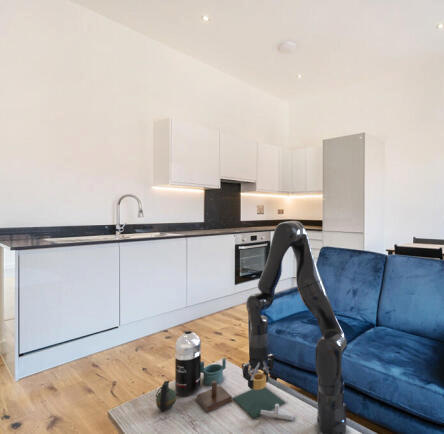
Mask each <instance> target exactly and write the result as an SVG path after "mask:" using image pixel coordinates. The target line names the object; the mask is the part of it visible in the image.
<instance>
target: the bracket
mask: <svg viewBox="0 0 444 434" xmlns="http://www.w3.org/2000/svg"><path fill="white" fill-rule="evenodd" d="M221 361H222V364H219V363H212V364H208V365H206V366H205V360H204V361H201V374H203V384H204V385H206V386H212V381H217V385H218V384H220V383H221V382H223V380H224V379H223V378H224V374H223V373H224V370H225V369H227V365H226V363H227V359H226V357H224V358H222V360H221Z"/></svg>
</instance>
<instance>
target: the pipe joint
mask: <svg viewBox="0 0 444 434" xmlns="http://www.w3.org/2000/svg"><path fill="white" fill-rule="evenodd" d="M260 414H261V416H266V417H271V418H277V419H283V420H287V421H293V420H294V419H293V418H294V415H292V414H288V413H282V412H280V406H279V404H275V408H274V411H272V410H271V411H266V410H261V412H260Z"/></svg>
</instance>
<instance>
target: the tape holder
mask: <svg viewBox="0 0 444 434" xmlns="http://www.w3.org/2000/svg"><path fill="white" fill-rule="evenodd" d="M196 401H197V402H198V403H199V404H200V405H201V407H202V408H203V409H204V410H205V412H207V413H209V412H210V411H213V410H215V409H217V408H219V407H222V406H224V405H226V404H228V403H231V402H232V401H233V396H232V394H230V393H229V392H228V391H227V390H226V389H225V388H224V387H223V386H221V385H218V384H217V381H212V385H211V388H210V389H208V390H205V391H203V392H201V393H198V394H196Z"/></svg>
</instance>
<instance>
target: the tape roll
mask: <svg viewBox="0 0 444 434" xmlns="http://www.w3.org/2000/svg"><path fill="white" fill-rule="evenodd" d="M266 386H267V383H266V375H265V374H263V372H256V374H255V375H254V378H253V389H254V390H261V389H263V388H265V387H266Z"/></svg>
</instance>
